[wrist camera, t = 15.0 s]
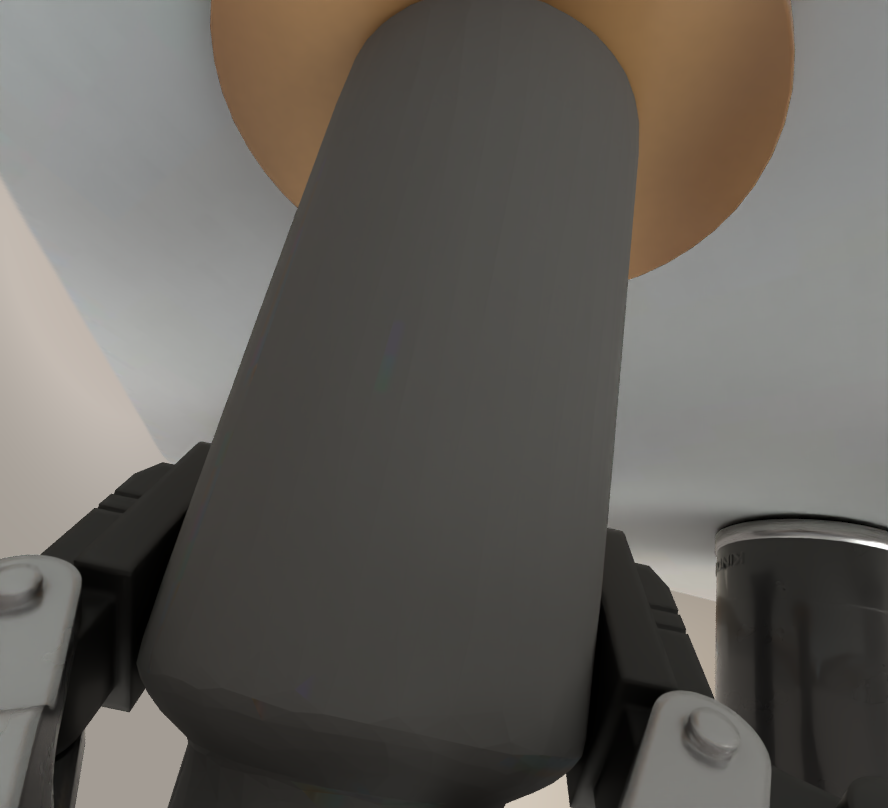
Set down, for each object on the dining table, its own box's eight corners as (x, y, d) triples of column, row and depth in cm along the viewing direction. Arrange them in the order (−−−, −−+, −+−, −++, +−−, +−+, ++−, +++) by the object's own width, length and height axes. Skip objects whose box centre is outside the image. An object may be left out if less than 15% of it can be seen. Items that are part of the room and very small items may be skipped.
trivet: (954, -269, 7) (965, -234, 7) (693, 294, 17) (693, 318, 17) (100, -240, 9) (75, -212, 9) (312, 255, 19) (305, 276, 18)
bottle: (284, 45, 12) (-205, 1172, 6) (602, -76, 9) (311, 1888, 3) (426, 247, 16) (242, 982, 10) (664, 209, 13) (603, 1184, 7)
